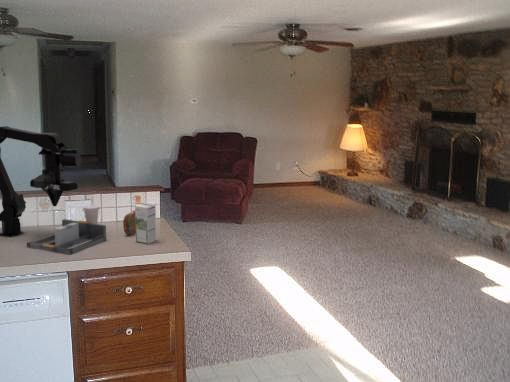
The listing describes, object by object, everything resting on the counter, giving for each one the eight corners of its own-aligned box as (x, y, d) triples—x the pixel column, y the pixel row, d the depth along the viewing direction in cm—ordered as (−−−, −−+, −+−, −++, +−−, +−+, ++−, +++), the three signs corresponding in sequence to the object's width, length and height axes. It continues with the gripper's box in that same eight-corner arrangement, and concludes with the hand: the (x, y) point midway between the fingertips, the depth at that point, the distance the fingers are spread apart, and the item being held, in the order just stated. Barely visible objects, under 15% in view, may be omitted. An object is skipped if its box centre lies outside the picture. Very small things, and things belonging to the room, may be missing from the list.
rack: (26, 246, 200) (25, 230, 199) (65, 233, 218) (64, 218, 217) (70, 254, 192) (69, 237, 191) (106, 240, 210) (105, 224, 209)
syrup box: (156, 240, 212) (156, 203, 209) (147, 244, 207) (147, 206, 204) (144, 238, 214) (143, 202, 211) (135, 242, 209) (134, 205, 206)
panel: (55, 246, 201) (54, 228, 200) (74, 240, 210) (73, 222, 209) (60, 247, 200) (59, 229, 199) (79, 240, 209) (78, 223, 208)
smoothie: (97, 231, 222) (96, 198, 219) (81, 231, 222) (80, 197, 219) (102, 227, 228) (101, 194, 225) (86, 227, 228) (85, 194, 225)
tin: (129, 237, 216) (129, 216, 214) (122, 236, 216) (121, 215, 215) (144, 227, 230) (144, 208, 228) (137, 227, 231) (137, 207, 229)
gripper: (17, 167, 205) (20, 207, 208) (56, 171, 198) (58, 213, 201) (40, 163, 216) (42, 202, 219) (77, 167, 208) (79, 207, 212)
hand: (54, 206), depth 212 cm, fingers closed
